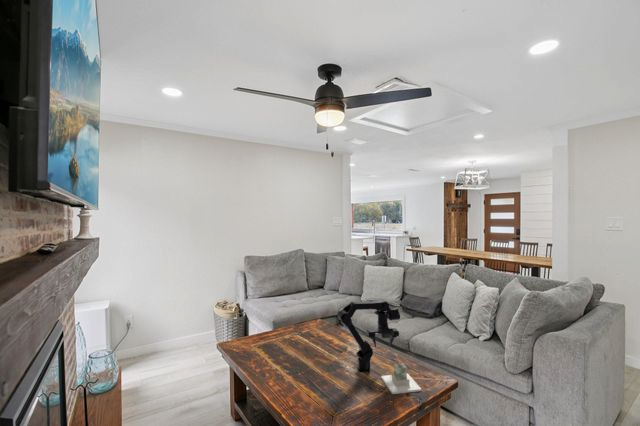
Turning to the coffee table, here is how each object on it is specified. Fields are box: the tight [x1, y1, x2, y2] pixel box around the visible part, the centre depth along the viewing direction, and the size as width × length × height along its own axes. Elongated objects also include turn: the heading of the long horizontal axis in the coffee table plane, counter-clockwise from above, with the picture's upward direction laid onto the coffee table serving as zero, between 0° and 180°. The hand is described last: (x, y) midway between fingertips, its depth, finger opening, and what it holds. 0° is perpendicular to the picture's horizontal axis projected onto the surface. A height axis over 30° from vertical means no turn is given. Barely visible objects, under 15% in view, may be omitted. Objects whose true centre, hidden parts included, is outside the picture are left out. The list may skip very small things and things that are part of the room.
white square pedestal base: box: [381, 372, 422, 395], centre depth 171 cm, size 16×16×4 cm
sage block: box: [393, 362, 408, 380], centre depth 171 cm, size 5×5×6 cm
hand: (382, 346), depth 191 cm, fingers open, 9 cm apart
